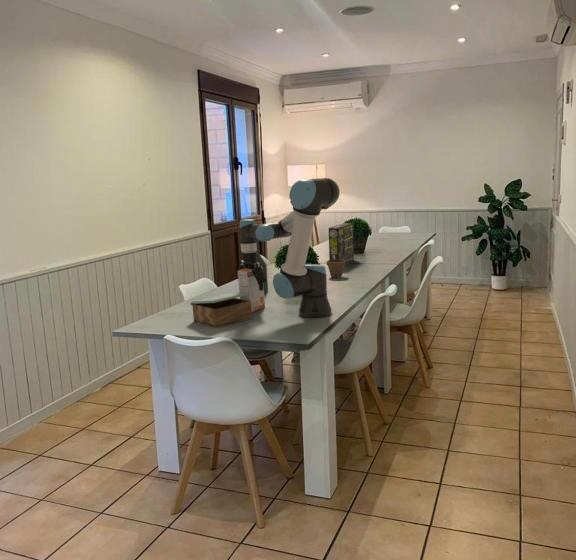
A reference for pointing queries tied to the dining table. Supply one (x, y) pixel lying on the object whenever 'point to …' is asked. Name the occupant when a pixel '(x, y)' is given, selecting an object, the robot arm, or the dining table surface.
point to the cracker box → (250, 289)
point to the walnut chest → (222, 312)
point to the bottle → (264, 267)
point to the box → (341, 242)
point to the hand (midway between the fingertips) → (251, 295)
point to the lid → (221, 298)
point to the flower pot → (336, 267)
